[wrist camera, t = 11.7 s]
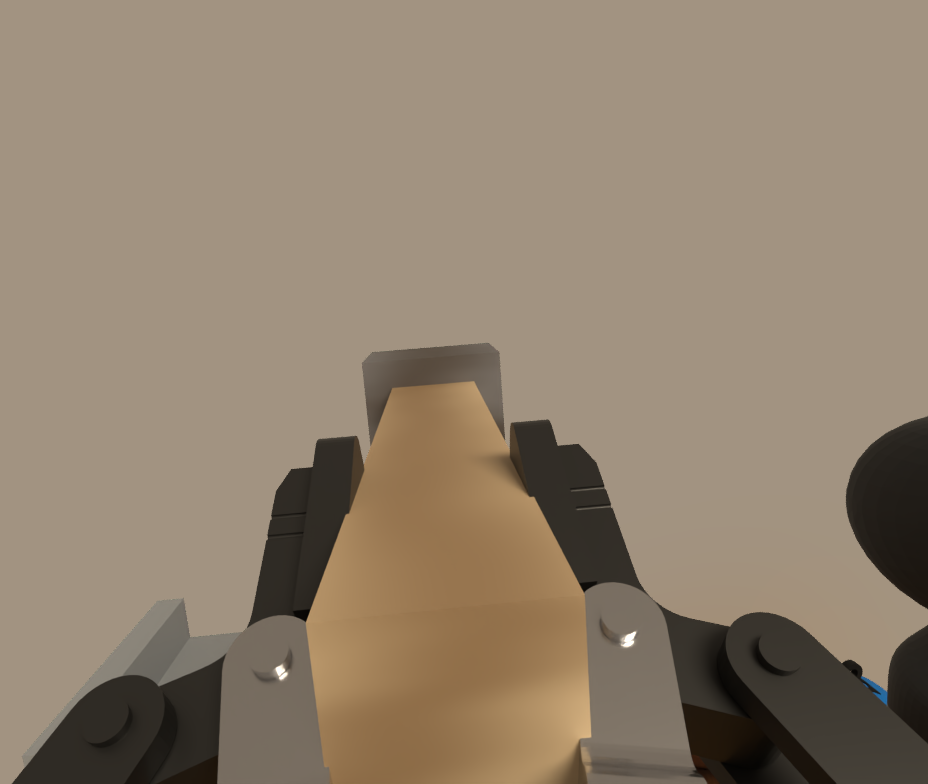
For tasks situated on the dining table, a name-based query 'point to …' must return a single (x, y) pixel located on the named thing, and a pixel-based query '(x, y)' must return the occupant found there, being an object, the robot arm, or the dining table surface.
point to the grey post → (151, 656)
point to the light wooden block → (446, 596)
